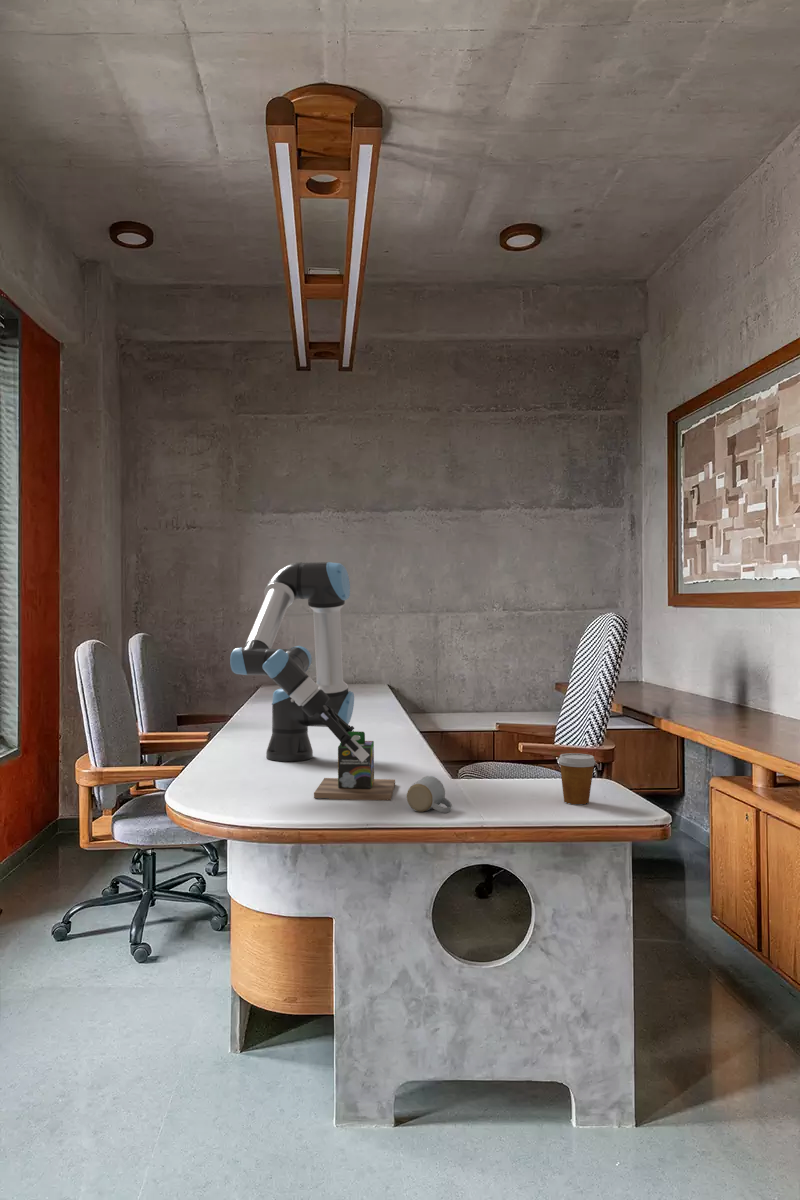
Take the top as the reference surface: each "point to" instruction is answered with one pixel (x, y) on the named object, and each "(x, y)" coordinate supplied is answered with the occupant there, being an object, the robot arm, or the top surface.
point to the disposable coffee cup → (576, 777)
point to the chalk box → (356, 765)
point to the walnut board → (355, 790)
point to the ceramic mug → (428, 795)
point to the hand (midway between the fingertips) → (365, 754)
